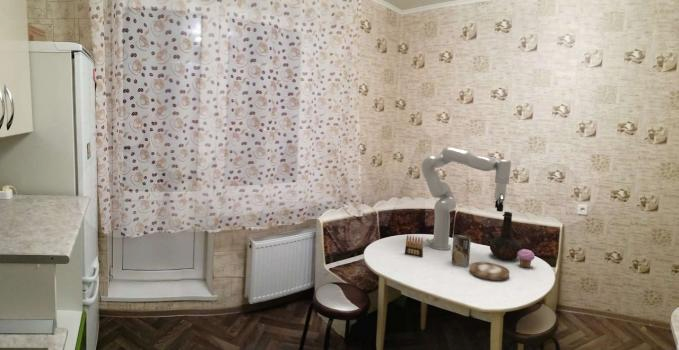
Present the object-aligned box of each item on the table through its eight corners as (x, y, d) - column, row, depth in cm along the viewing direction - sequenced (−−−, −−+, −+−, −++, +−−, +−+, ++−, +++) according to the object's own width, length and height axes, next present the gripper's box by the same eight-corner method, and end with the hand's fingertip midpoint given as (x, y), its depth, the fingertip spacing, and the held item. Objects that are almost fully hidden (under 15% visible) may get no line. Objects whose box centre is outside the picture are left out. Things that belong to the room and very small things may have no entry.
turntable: (469, 276, 208) (469, 272, 207) (469, 263, 226) (469, 259, 226) (510, 282, 201) (511, 278, 201) (507, 268, 220) (508, 264, 220)
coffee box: (469, 263, 229) (471, 236, 227) (467, 267, 223) (469, 239, 221) (453, 260, 233) (455, 234, 231) (450, 264, 227) (452, 236, 225)
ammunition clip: (404, 254, 242) (405, 234, 240) (405, 253, 244) (406, 234, 242) (421, 257, 237) (423, 237, 235) (422, 256, 238) (424, 237, 237)
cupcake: (516, 267, 225) (518, 250, 224) (516, 262, 233) (517, 246, 232) (534, 270, 222) (535, 253, 221) (532, 265, 230) (534, 248, 229)
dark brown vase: (517, 254, 248) (522, 210, 244) (522, 264, 231) (527, 217, 227) (487, 251, 253) (491, 207, 249) (490, 260, 236) (494, 214, 232)
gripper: (493, 178, 240) (490, 205, 242) (496, 182, 223) (493, 212, 226) (507, 179, 238) (503, 207, 240) (510, 183, 221) (507, 213, 224)
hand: (498, 209), depth 233 cm, fingers open, 9 cm apart
